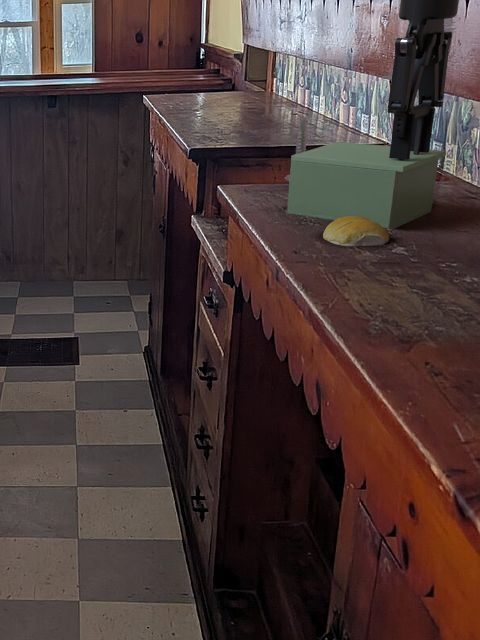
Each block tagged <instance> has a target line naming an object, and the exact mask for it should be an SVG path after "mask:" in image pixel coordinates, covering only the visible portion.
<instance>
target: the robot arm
mask: <svg viewBox="0 0 480 640" xmlns="http://www.w3.org/2000/svg"><path fill="white" fill-rule="evenodd" d="M459 4H460V0H400V3H399V10H398V18H399V19H400V20H401V21H408V22H409V23H408V25H407V29H406V31H405V37H396V39H395V41H394V60H393V67H392V75H391V81H390V87H389V93H388V94H389V95H388V99H387V100H388V101H387V114H394V115H393V123H392V131H391V140H390V146H391V147H390V155H389V158H393V159H404V160H408V159H410V151H413V152H414V145H415V137H416V130H417V122H418V119H416V120H415V114H411V113H412V111H413V107H414V106H415V103H416V101H417V99H418V101H417V102H418V104H417V105H419V104H423V103H425V104H427V105H429V107H430V113H429V114H428V115H427V116H426V117H424V124H423V132H422V139H421V146H420V152H425V153H427V152H429V150H431V149H430V148H431V143H432V142H431V141H432V133H433V127H434V118H435V113H436V112H435V111H436V108H442V107H443V105H444V101H443V100H444V97H445V87H446V80H447V71H448V64H449V63H448V62H449V54H450V47H451V43H452V39H453V32H452V31H445V20H449V19H453V18H455V17H456V16H457V15H458V11H459ZM417 97H418V98H417Z"/></svg>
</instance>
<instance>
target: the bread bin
mask: <svg viewBox="0 0 480 640" xmlns="http://www.w3.org/2000/svg"><path fill="white" fill-rule="evenodd" d="M438 165H439V159H436V160H434V161H431V162H428V163H426V164H423V165H420V166H418V167H415V168H412V169H410V170H407V171H405V172H396V171H387V170H377V169H367V168H358V167H348V166H338V165H329V164H319V163H309V162H300V161H291V160H290V171H289V175H290V182H289V181H288V195H287V208H286V209H287V210H286V214H291V215H297V216H303V217H310V218H318V219H325V220H331V221H335V220H337V219H339V218H342V217H347V216H359V217H364V218H367V219H369V220H370V221H374V222H376V223H378V224H379V225H381V226H382V227H383V228H384V229H389V230H394V229H397V228H399V227H401V226H403V225H406V224H408V223H410V222H412V221H414V220H416V219H419V218H421V217H423V216H425V215H428V214H430V213H431V212H432V206H433V199H434V195H435V188H436V187H435V186H436V179H437V172H438Z"/></svg>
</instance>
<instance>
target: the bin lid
mask: <svg viewBox="0 0 480 640" xmlns="http://www.w3.org/2000/svg"><path fill="white" fill-rule="evenodd" d="M429 113H430V107H429V105H427V104H425V103H423V104H419V105H418V104H415V105H414V107H413V111H412V113H411V114H415V120H416V119H418V122H417V130H416V137H415V145H414V152H413V151H410V159H408V160H404V159H393V158H389V155H390V147H391V145H380V144H369V143H357V142H347V141H346V142H344V141H335V142H333V143H329V144H325V145H323V146H319V147H315V148H312V149H309V150H305V152H302V153H299V154H296V153H295V154H292V155H291V156H290V157H291V159H290V162H291V161H300V162H309V163H319V164H329V165H338V166H348V167H358V168H367V169H377V170H387V171H396V172H405V171H407V170H410V169H412V168H415V167H418V166H420V165H423V164H426V163H428V162H431V161H434V160H436V159H438V160H439V159H442V158H444V157H446V156H447V150H439V149H429V152H427V153H425V152H420V146H421V139H422V132H423V124H424V117H426V116H427V115H428V114H429Z"/></svg>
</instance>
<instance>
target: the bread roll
mask: <svg viewBox="0 0 480 640" xmlns="http://www.w3.org/2000/svg"><path fill="white" fill-rule="evenodd" d="M322 237H323V240H325V241H327V242H329V243H332V244H333V245H338V246H343V247H366V246H367V247H368V246H370V247H371V246H382V245H383V246H384V245H385V244H387V243H388V242H389V240H390V236H389V233H388V231H387V230H386V228H383V227H382V226H381V225H379V224H378V223H376V222H374V221H370V220H369V219H367V218H364V217H359V216H347V217H342V218H339V219H337V220H332V221H331V222H330V223H329V224H328V225H327V226H326V227H325V229H324V231H323V234H322Z"/></svg>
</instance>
